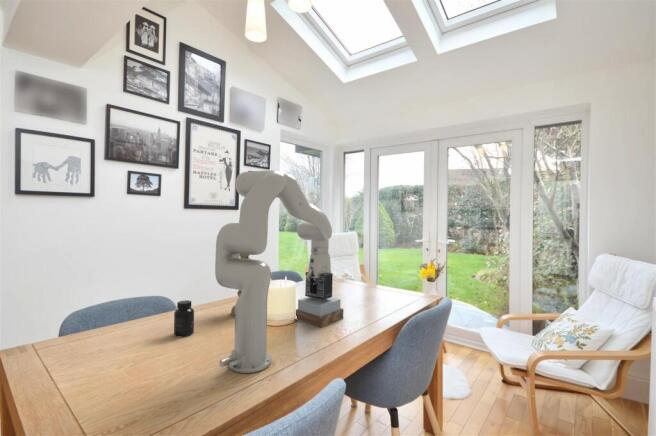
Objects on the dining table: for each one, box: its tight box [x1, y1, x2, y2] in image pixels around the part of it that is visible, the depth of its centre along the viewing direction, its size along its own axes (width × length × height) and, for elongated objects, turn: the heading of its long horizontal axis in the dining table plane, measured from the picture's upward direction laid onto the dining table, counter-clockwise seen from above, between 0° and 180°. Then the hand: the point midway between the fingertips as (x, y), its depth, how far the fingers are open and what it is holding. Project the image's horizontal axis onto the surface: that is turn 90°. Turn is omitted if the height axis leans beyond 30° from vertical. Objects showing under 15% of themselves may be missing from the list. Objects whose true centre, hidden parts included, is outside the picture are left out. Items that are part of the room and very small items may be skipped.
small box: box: [304, 271, 333, 300], centre depth 135 cm, size 11×6×10 cm, turn 57°
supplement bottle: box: [173, 300, 195, 338], centre depth 116 cm, size 7×7×12 cm
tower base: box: [295, 307, 344, 328], centre depth 136 cm, size 15×15×4 cm
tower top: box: [297, 296, 341, 317], centre depth 135 cm, size 13×13×4 cm
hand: (318, 291), depth 135 cm, fingers closed on small box, 6 cm apart
